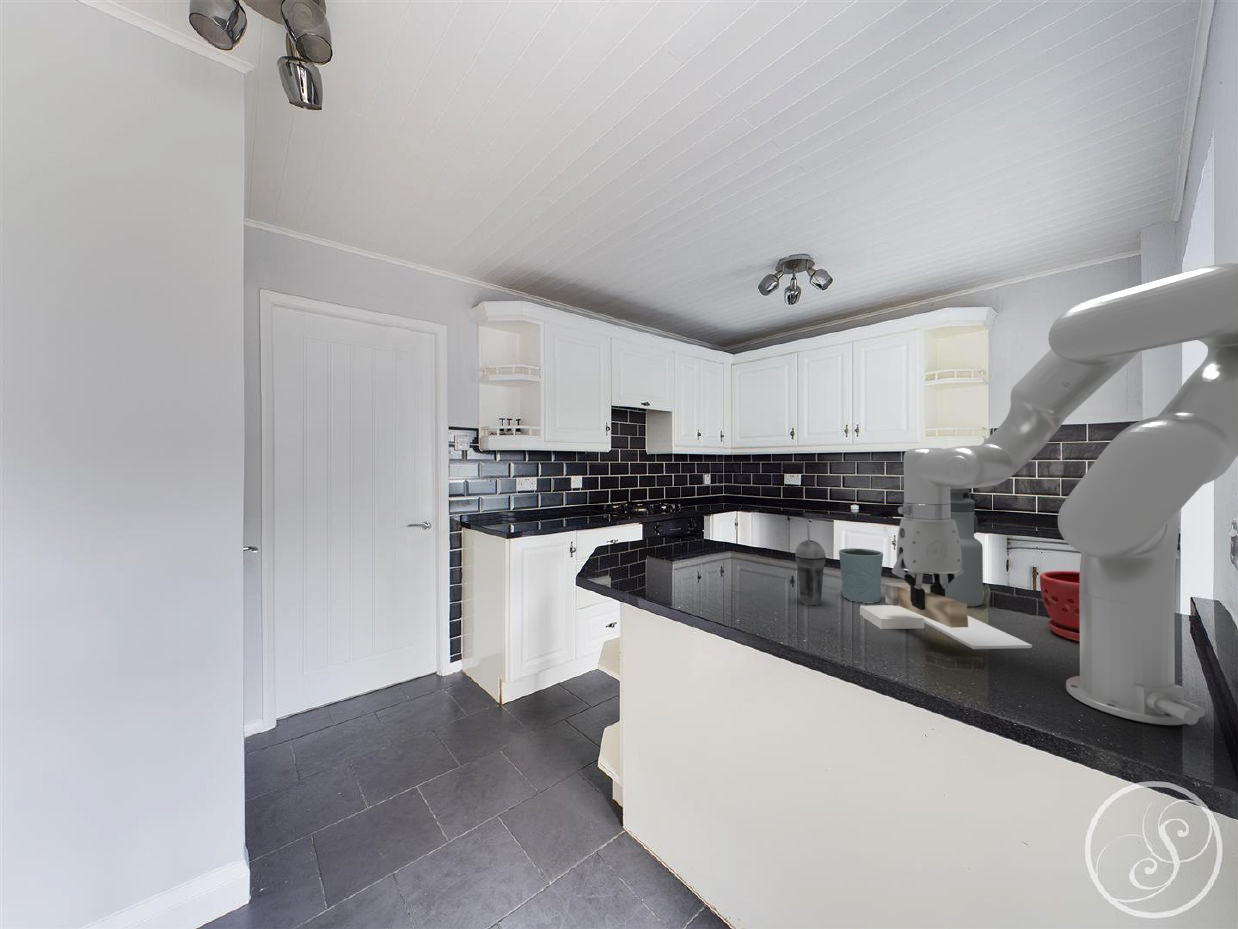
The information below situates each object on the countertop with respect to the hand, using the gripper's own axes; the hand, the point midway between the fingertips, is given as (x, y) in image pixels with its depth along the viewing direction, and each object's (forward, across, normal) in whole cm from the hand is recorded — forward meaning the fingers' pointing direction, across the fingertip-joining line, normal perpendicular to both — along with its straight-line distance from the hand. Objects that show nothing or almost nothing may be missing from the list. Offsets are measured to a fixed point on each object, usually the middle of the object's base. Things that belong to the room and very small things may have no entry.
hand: (927, 606), depth 93 cm
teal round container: (+8, +2, +30) cm, 31 cm away
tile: (+6, 0, +8) cm, 11 cm away
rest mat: (+7, +12, +9) cm, 17 cm away
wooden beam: (+2, 0, +1) cm, 2 cm away
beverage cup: (+7, -12, +27) cm, 31 cm away
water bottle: (+7, +24, +26) cm, 36 cm away
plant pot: (+7, +32, +2) cm, 33 cm away
